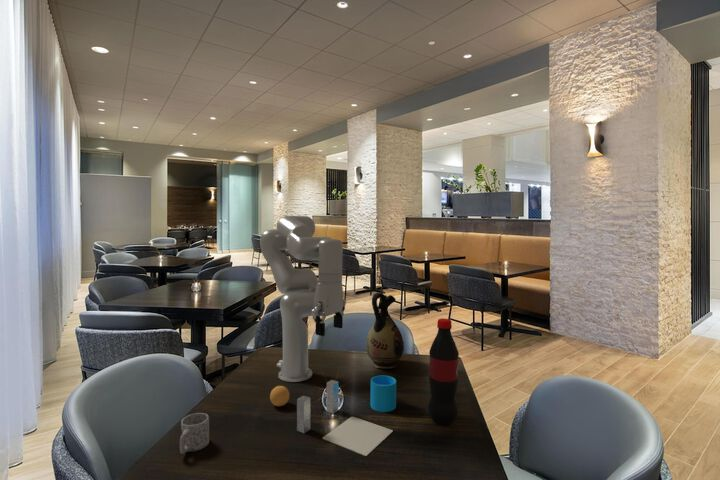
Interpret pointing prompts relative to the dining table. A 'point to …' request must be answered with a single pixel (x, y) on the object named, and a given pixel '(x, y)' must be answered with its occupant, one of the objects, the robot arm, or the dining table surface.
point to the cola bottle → (443, 375)
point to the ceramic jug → (384, 335)
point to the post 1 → (303, 414)
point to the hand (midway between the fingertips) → (329, 331)
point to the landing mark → (358, 435)
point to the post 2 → (332, 396)
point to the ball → (279, 396)
